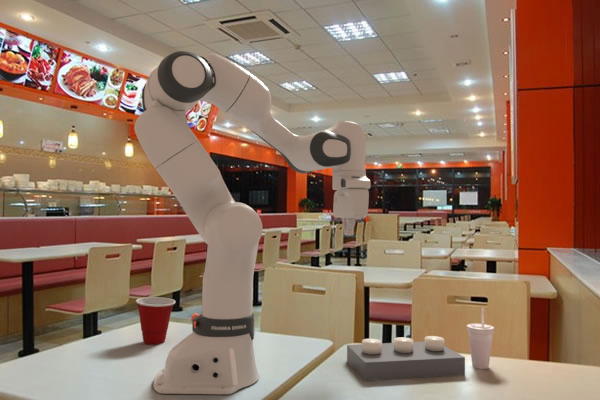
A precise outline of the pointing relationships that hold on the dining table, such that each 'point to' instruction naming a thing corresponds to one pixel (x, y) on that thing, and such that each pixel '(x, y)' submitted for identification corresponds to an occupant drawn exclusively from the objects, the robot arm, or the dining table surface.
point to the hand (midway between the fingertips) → (348, 235)
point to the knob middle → (403, 345)
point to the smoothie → (480, 343)
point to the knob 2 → (434, 343)
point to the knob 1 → (371, 346)
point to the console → (405, 362)
